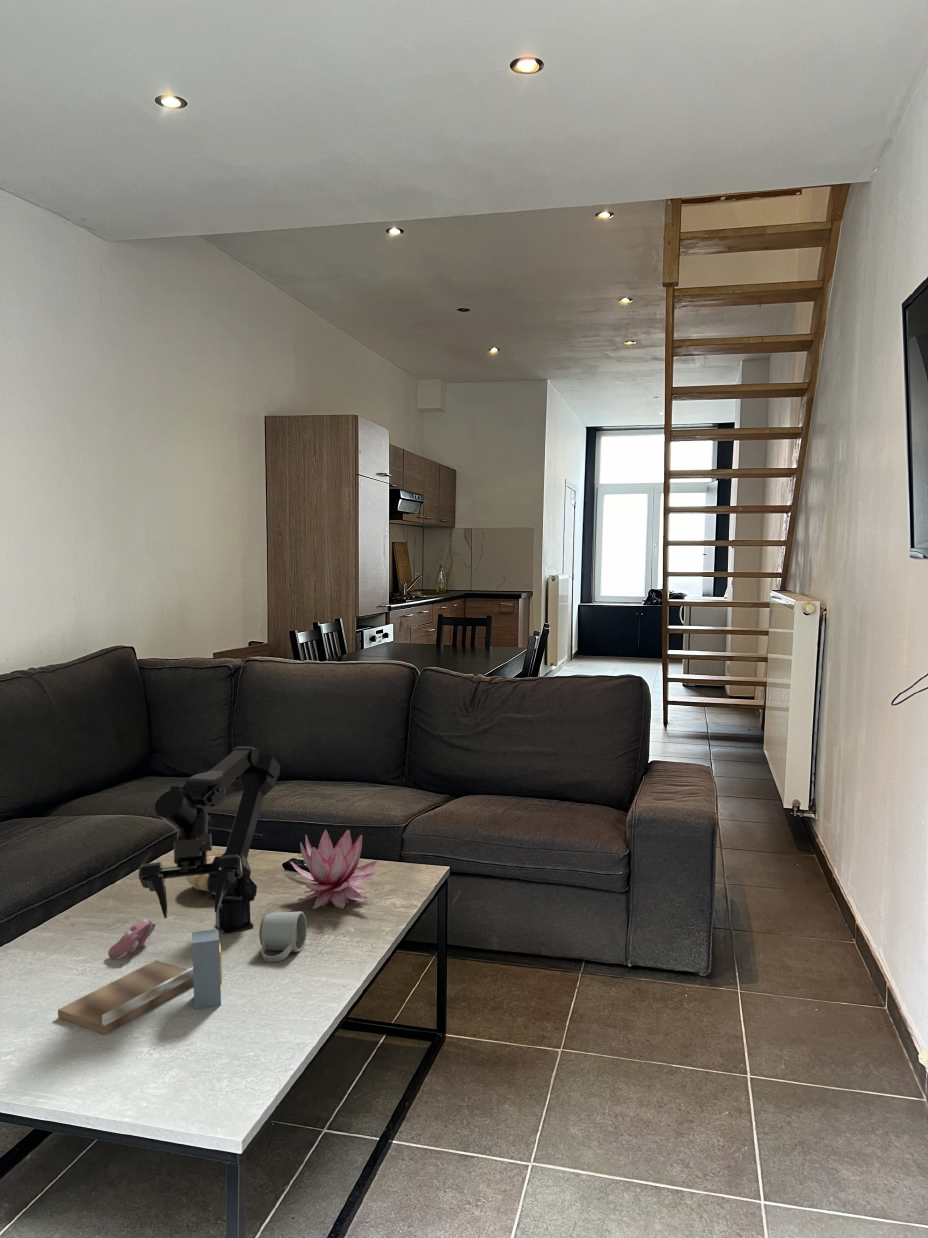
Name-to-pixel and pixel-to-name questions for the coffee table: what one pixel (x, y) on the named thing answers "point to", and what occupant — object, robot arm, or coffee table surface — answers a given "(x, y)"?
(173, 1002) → the coffee table surface
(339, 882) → the decorative flower
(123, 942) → the pink elongated piece
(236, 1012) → the coffee table surface
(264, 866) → the coffee table surface
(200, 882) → the nautilus
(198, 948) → the tea tin
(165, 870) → the robot arm
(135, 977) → the board
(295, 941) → the ceramic mug
